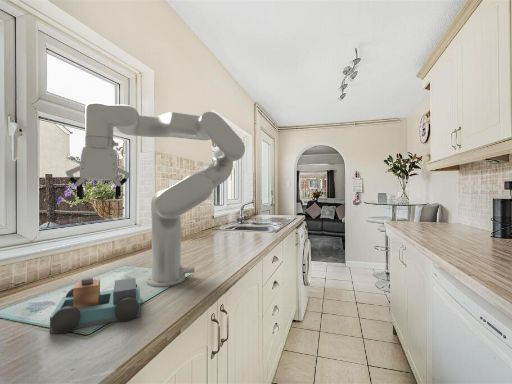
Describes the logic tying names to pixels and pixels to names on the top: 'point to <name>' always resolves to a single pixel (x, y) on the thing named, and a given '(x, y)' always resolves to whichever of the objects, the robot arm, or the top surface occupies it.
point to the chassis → (98, 308)
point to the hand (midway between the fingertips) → (99, 199)
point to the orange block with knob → (86, 293)
